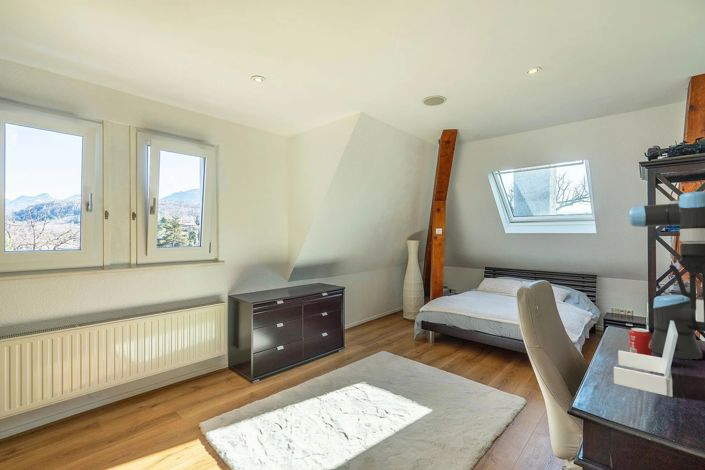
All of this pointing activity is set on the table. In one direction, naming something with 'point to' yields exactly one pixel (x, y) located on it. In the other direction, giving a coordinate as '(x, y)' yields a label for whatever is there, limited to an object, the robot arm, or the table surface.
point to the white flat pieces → (639, 378)
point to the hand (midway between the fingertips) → (699, 320)
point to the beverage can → (640, 341)
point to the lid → (669, 348)
